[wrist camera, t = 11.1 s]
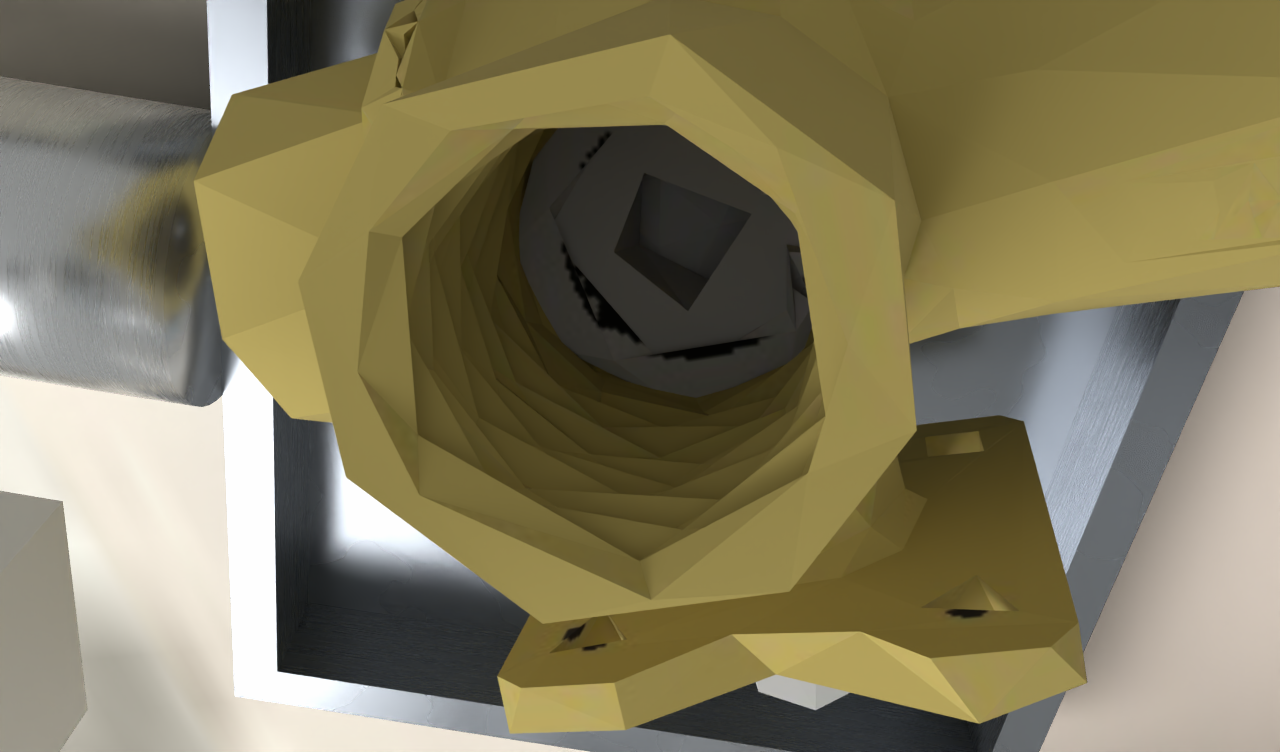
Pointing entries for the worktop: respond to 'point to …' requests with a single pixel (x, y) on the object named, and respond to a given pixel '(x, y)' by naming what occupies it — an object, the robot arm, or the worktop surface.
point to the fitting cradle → (395, 551)
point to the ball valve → (732, 311)
